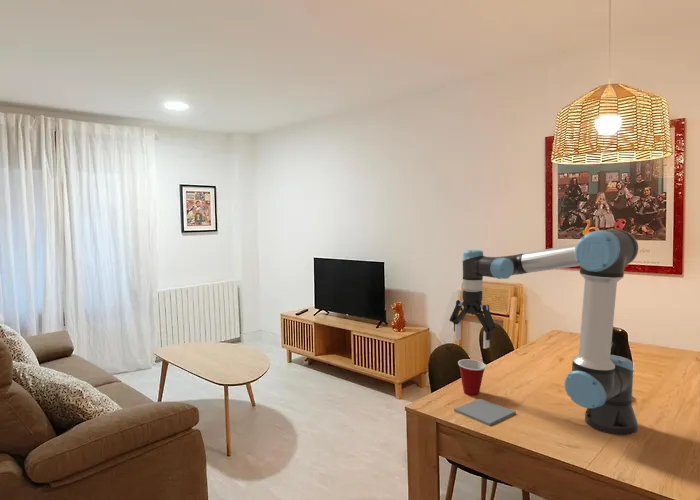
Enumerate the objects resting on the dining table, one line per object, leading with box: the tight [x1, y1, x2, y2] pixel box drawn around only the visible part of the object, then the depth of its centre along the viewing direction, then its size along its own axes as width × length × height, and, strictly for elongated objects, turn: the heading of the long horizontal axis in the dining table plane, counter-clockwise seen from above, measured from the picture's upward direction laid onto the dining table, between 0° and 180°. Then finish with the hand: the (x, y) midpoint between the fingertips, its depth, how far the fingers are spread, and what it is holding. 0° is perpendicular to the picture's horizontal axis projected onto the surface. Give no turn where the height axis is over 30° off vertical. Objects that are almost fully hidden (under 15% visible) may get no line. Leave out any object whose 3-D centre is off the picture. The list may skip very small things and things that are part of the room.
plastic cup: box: [457, 358, 487, 396], centre depth 181 cm, size 11×11×12 cm
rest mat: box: [453, 398, 517, 426], centre depth 164 cm, size 15×15×1 cm
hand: (471, 344), depth 180 cm, fingers open, 13 cm apart
